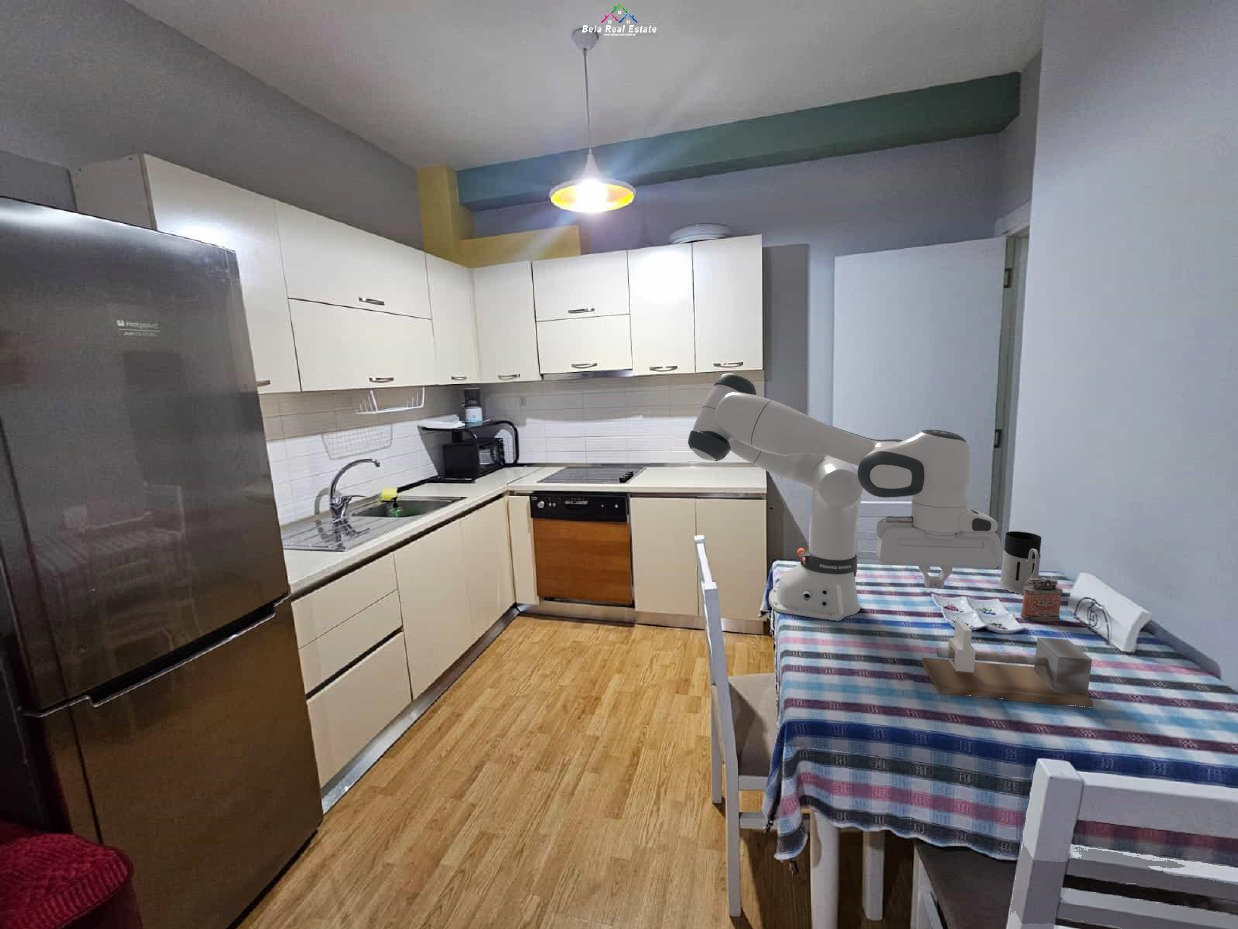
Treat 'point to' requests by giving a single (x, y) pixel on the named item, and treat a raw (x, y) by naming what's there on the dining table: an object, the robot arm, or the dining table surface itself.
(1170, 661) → the dining table surface
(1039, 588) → the lighter
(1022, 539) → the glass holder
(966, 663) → the white stepped block
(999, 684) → the rod board
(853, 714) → the dining table surface
